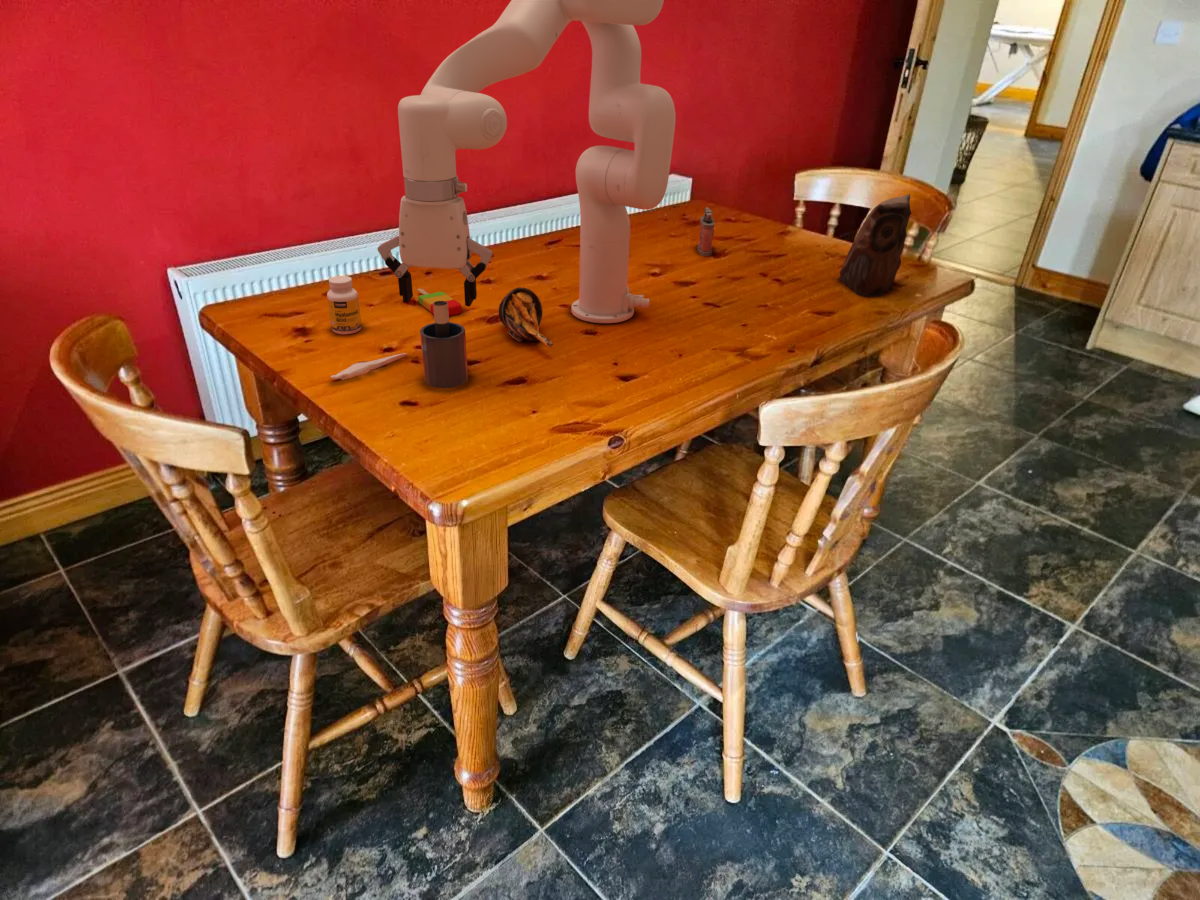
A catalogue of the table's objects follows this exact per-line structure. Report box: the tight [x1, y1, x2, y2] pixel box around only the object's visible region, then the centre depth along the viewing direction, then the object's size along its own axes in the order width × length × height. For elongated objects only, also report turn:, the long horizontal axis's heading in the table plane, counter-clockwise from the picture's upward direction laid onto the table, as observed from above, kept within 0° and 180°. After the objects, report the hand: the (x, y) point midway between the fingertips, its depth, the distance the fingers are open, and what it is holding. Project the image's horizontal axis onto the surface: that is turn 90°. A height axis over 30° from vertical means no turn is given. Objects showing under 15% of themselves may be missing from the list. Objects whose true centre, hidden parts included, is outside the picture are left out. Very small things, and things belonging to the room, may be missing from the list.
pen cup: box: [419, 321, 469, 389], centre depth 128 cm, size 7×7×9 cm
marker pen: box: [433, 301, 450, 338], centre depth 127 cm, size 2×2×13 cm
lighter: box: [697, 206, 716, 257], centre depth 194 cm, size 8×3×10 cm, turn 179°
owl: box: [837, 193, 912, 298], centre depth 171 cm, size 13×13×20 cm
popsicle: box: [416, 288, 463, 317], centre depth 160 cm, size 6×15×2 cm, turn 36°
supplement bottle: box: [326, 275, 362, 335], centre depth 145 cm, size 5×5×10 cm
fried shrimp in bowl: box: [498, 286, 554, 349], centre depth 144 cm, size 9×11×18 cm
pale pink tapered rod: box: [330, 352, 408, 381], centre depth 133 cm, size 15×3×2 cm, turn 139°
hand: (438, 301), depth 123 cm, fingers open, 9 cm apart
